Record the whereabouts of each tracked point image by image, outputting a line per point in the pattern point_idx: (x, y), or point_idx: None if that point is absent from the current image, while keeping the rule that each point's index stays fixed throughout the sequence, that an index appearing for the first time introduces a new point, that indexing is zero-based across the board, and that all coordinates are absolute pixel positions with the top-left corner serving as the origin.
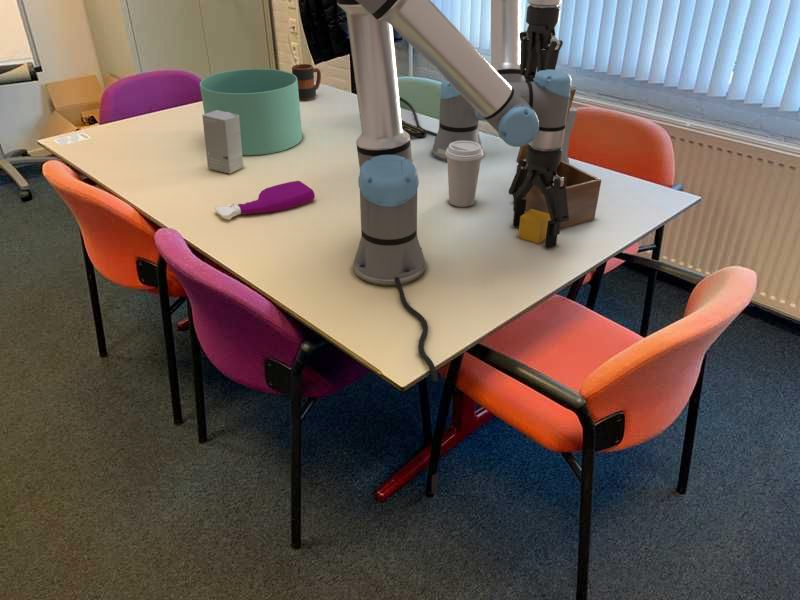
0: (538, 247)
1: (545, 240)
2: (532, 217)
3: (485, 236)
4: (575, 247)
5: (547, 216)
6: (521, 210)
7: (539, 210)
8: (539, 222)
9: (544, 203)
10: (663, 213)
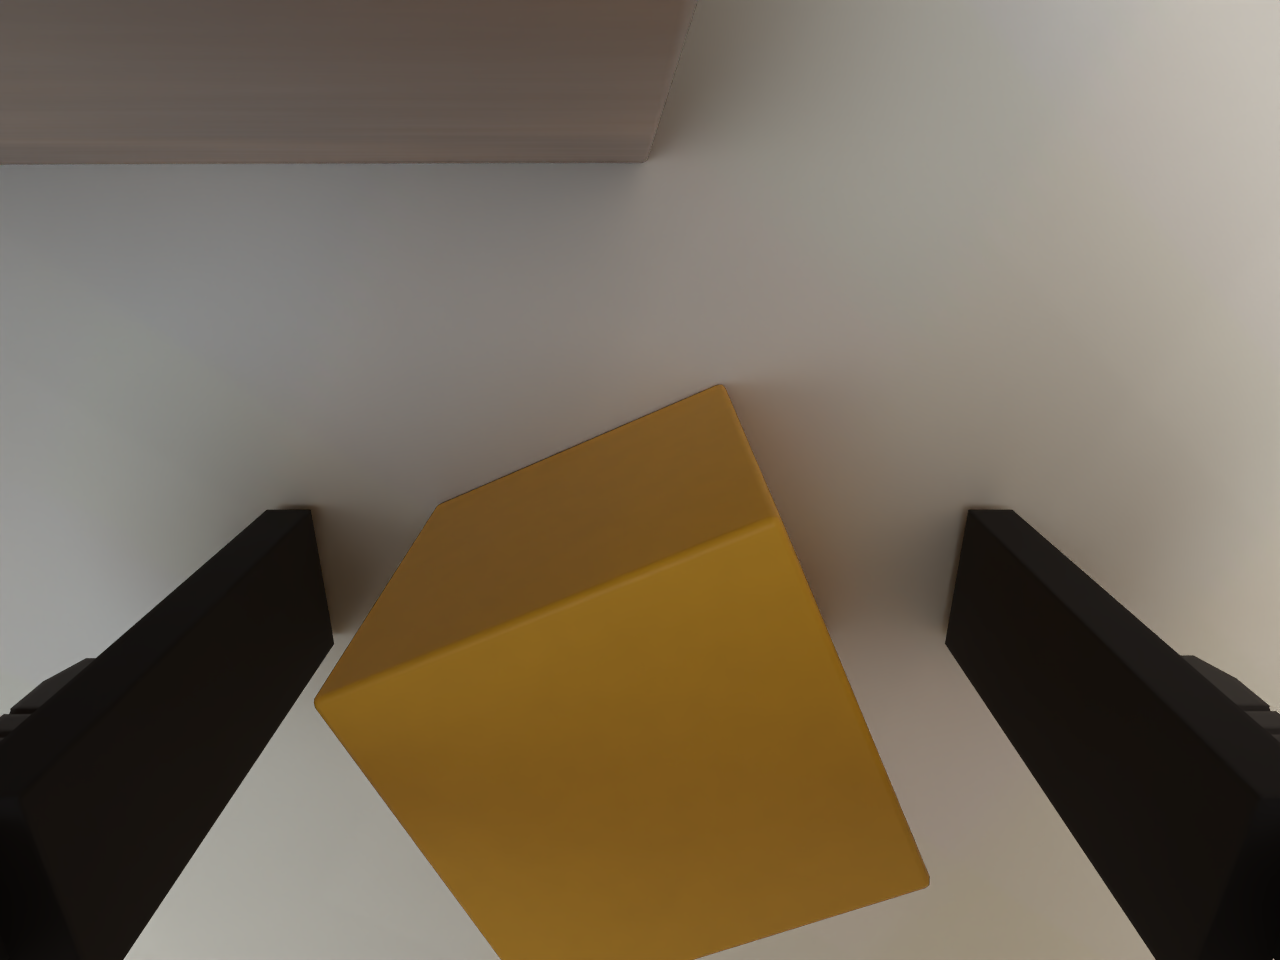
0: (890, 683)
1: (981, 697)
2: (677, 894)
3: (404, 955)
4: (1205, 290)
5: (796, 654)
6: (193, 717)
7: (71, 157)
8: (897, 896)
9: (38, 146)
10: None
